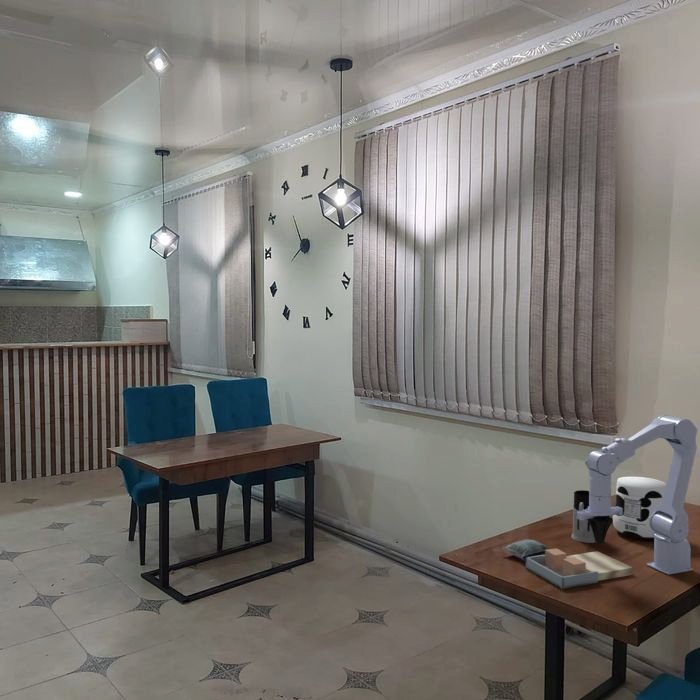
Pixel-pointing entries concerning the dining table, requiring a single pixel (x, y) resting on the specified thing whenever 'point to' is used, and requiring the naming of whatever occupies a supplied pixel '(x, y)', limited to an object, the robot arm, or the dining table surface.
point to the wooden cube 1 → (554, 559)
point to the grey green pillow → (526, 549)
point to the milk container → (637, 505)
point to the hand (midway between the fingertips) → (599, 542)
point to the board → (603, 565)
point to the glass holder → (581, 527)
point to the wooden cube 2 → (573, 566)
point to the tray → (559, 574)
